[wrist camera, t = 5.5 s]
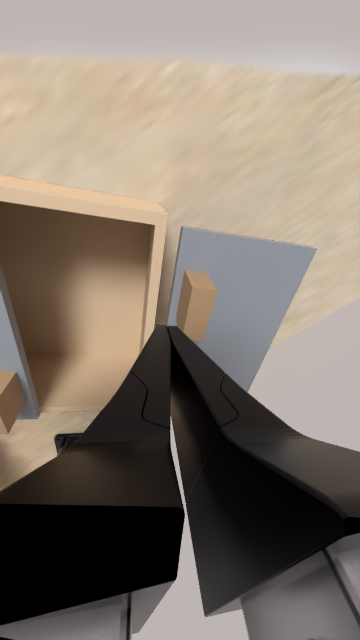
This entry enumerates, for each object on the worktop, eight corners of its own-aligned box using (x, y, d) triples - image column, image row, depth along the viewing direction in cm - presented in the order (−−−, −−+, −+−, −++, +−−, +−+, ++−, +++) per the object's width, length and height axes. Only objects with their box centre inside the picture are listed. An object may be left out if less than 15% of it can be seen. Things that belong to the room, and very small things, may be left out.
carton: (143, 356, 25) (143, 409, 19) (-16, 352, 22) (-74, 414, 16) (159, 203, 17) (168, 214, 11) (-93, 158, 14) (-269, 141, 8)
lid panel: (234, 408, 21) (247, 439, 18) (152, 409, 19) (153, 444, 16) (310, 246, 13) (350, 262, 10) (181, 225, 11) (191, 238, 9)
